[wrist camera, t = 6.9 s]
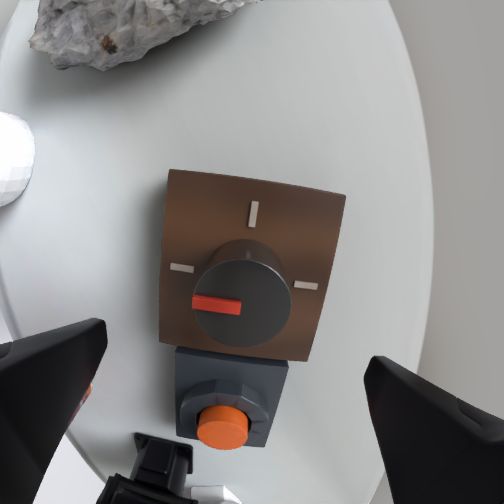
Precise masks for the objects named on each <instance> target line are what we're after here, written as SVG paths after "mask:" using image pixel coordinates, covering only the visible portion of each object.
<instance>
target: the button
mask: <svg viewBox="0 0 504 504" xmlns="http://www.w3.org/2000/svg"><path fill="white" fill-rule="evenodd" d="M197 436H198V438H199V439H200V441H201V442H203V443H204V444H206V445H207V446H210V447H212V448H216V449H222V450H230V449H235V448H238V447H241V446H242V445H244V444H245V442H246V441H247V438H248V419H247V417H246V415H245V414H244V413H243V412H242V411H241V410H239V409H237V408H235V407H232V406H225V405H215V406H211V407H208V408H206V409H205V410H204V411H203V412H202V413H201V415H200V419H199V424H198V429H197Z"/></svg>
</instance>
